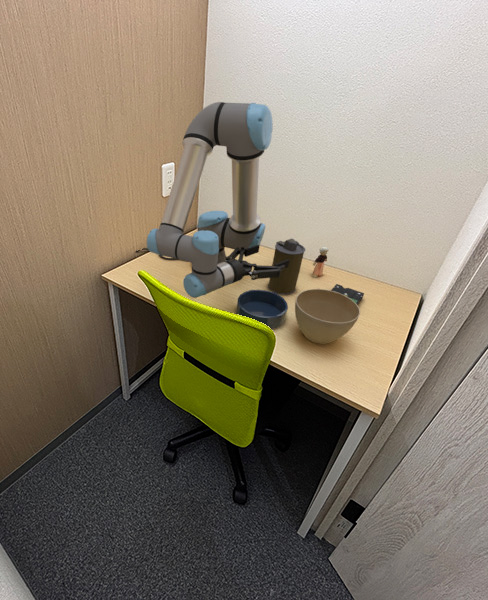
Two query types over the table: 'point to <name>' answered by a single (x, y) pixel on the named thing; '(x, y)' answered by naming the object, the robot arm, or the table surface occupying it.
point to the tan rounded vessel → (325, 314)
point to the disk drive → (349, 293)
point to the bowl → (263, 307)
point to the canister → (289, 274)
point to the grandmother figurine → (320, 262)
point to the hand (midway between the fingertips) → (272, 255)
